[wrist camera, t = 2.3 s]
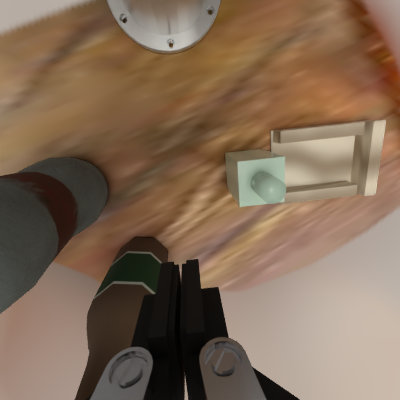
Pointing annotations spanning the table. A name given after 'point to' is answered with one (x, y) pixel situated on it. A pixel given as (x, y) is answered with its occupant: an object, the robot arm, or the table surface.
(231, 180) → the bottle
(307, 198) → the cradle
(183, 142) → the table surface
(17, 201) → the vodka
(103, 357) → the beer bottle
